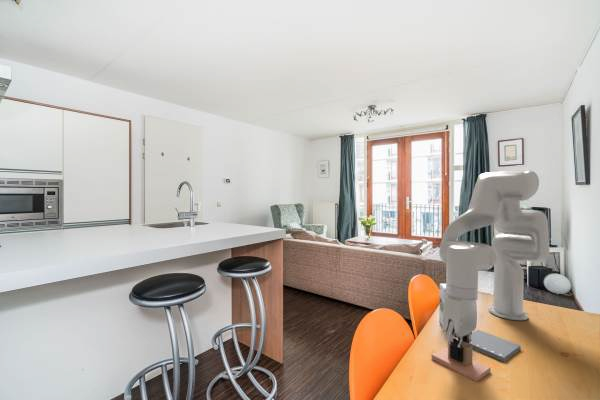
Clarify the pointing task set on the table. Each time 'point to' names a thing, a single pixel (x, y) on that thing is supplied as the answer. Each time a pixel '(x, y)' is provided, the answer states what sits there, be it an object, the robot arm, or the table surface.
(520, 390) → the table surface
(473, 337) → the grey dotted square slab
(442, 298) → the syrup box
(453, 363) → the pink slab with block
